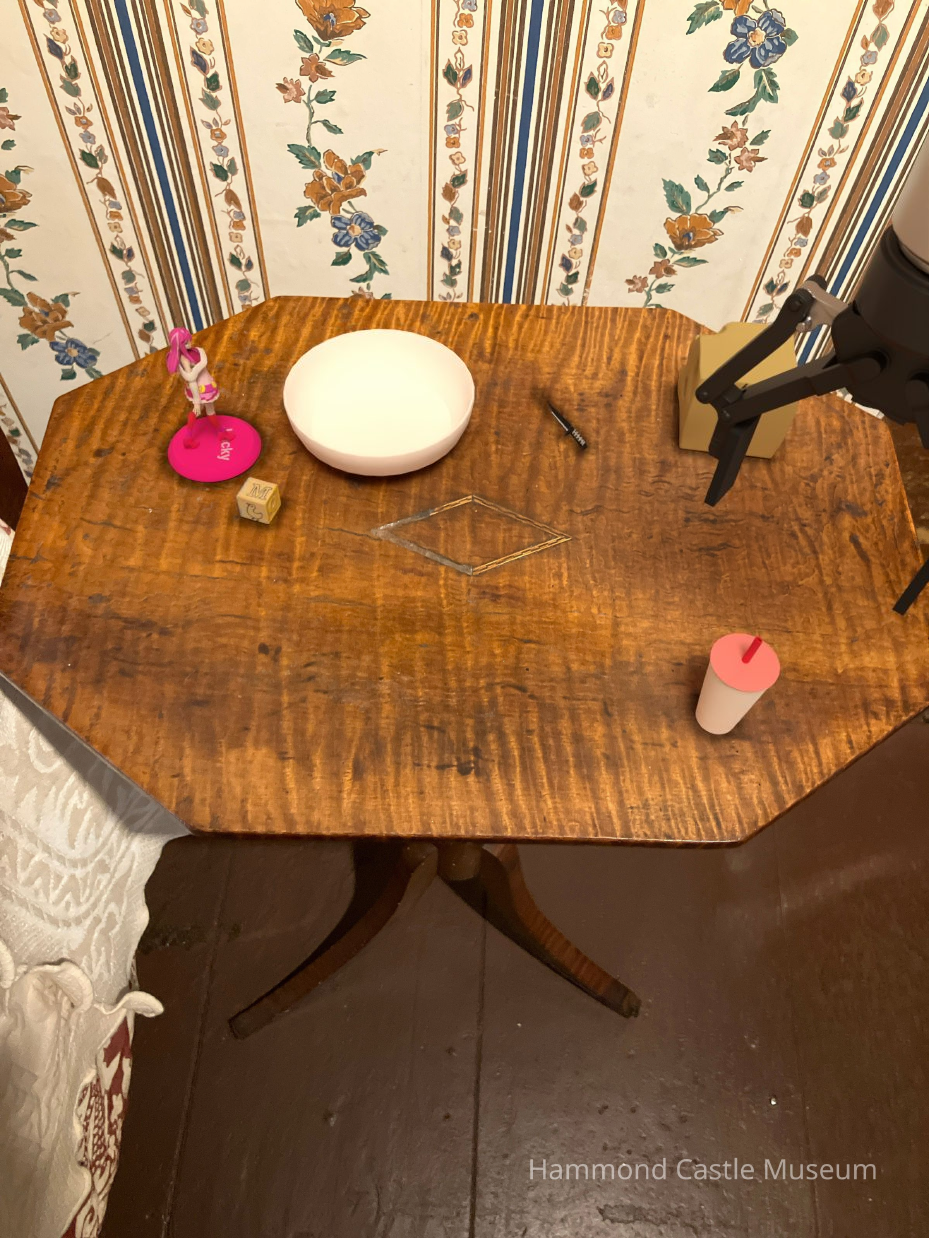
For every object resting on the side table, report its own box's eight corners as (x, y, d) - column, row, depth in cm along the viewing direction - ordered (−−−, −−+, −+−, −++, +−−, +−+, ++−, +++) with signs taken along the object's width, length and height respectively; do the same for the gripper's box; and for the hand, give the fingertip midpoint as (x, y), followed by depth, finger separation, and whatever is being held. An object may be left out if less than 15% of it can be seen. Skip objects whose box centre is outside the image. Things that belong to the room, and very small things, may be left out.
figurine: (262, 478, 90) (235, 359, 78) (166, 487, 89) (122, 368, 77) (260, 414, 96) (234, 293, 83) (169, 421, 95) (129, 301, 82)
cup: (746, 695, 77) (791, 616, 67) (747, 749, 74) (794, 675, 64) (684, 685, 77) (721, 605, 67) (683, 739, 74) (720, 664, 64)
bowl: (446, 362, 101) (446, 316, 96) (495, 481, 91) (498, 437, 86) (277, 389, 98) (269, 343, 93) (308, 516, 87) (300, 473, 82)
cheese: (675, 388, 100) (696, 313, 92) (770, 399, 99) (800, 324, 91) (674, 452, 94) (697, 378, 86) (776, 464, 93) (809, 390, 85)
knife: (532, 397, 99) (532, 395, 98) (544, 394, 99) (544, 391, 99) (577, 453, 94) (577, 451, 93) (589, 449, 94) (590, 446, 94)
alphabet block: (254, 496, 89) (248, 475, 86) (282, 504, 88) (278, 482, 86) (240, 518, 87) (234, 497, 85) (269, 525, 87) (264, 505, 84)
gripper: (692, 180, 43) (619, 483, 60) (1243, 413, 34) (970, 689, 51) (767, 124, 46) (677, 427, 64) (1286, 323, 37) (1016, 611, 55)
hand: (808, 545), depth 58 cm, fingers open, 13 cm apart
